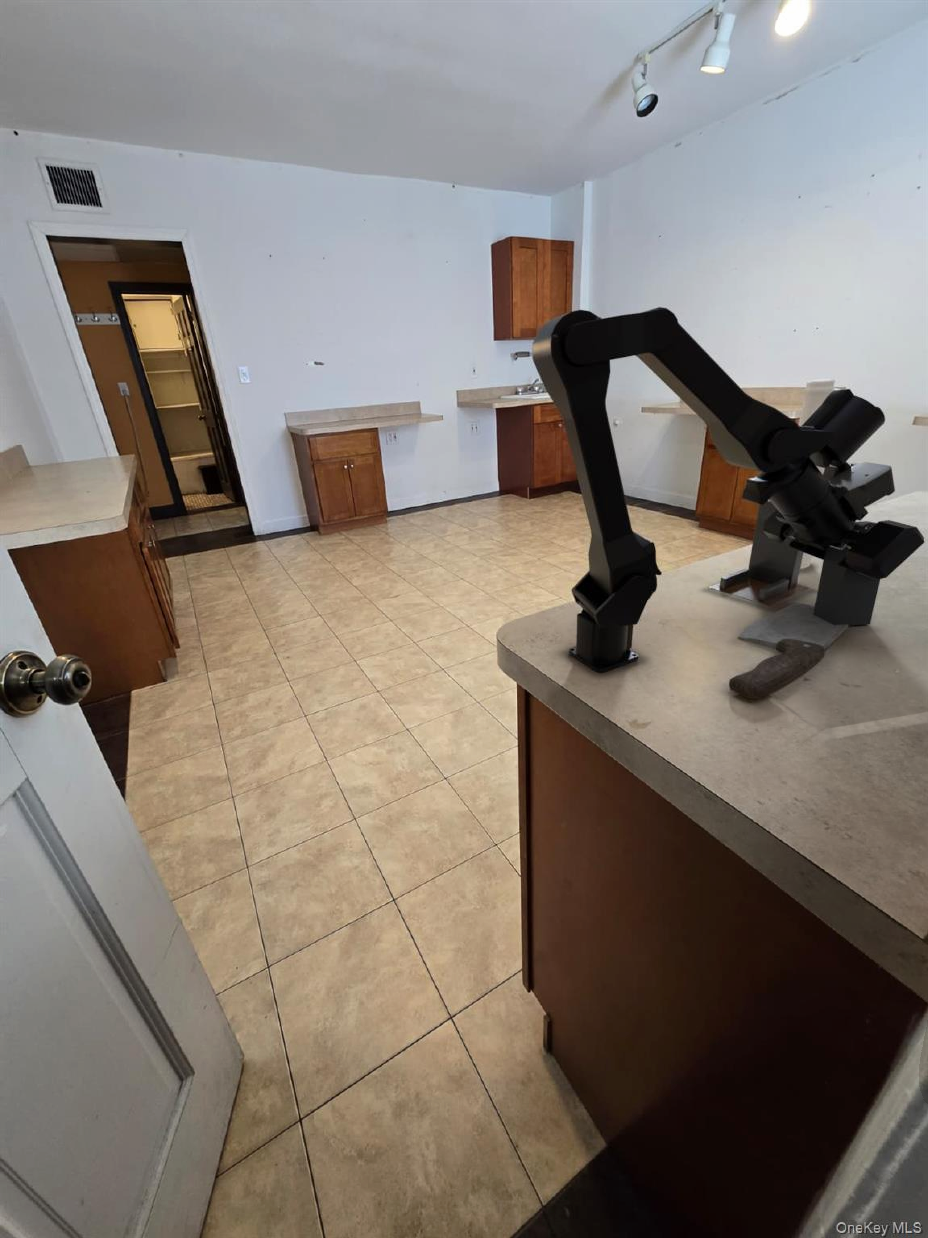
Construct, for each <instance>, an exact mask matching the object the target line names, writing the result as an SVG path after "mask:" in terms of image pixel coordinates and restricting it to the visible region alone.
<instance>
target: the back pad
mask: <svg viewBox="0 0 928 1238" xmlns="http://www.w3.org/2000/svg"><path fill="white" fill-rule="evenodd" d="M854 523H855V524H858V525H861V526H863V525H865V524H867V523H875V524H877V523H878V522H874V521H867V520H863V521H862V520H860V521H855V522H854ZM861 534H862V533H861ZM848 550H849V549H848V548H847V547H846V548H845V549H844V550H839V549H836V548H833V547H830V546H829V547H828V548H827V549H826V550H825V555H824V560H822V566H821V571H820V577H819V581H818V588H817V593H816V599H815V603H814V606H815V608H814V613H813V615H815V616H817V617H819V618H821V619H823V620H825V621H827V622H829V623H831V624H833V625H841V624H848V625H849V626H861V625H871V622H872V617H873V613H874V609H875V604H876V600H877V596H878V591H879V587H880V583H881V579H879V580H874V579H871V578H869V577H866V576H864V575H861V574H858V573H856V572H853V571H851V570H848V569H846V568H843V567H840V566H838V565H837V564H838V563H839V562H840V561H841V560H843V559H844V558H845V557H846V556H847V552H848Z"/></svg>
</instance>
